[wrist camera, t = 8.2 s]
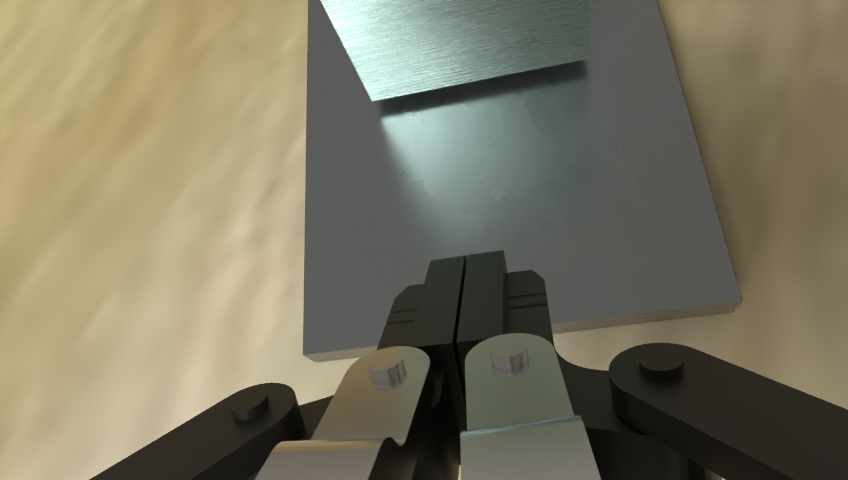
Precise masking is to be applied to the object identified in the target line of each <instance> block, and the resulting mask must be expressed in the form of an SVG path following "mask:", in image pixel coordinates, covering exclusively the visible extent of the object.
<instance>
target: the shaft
mask: <svg viewBox="0 0 848 480" xmlns="http://www.w3.org/2000/svg"><path fill="white" fill-rule="evenodd" d="M321 2H322V4H323V6H324V8H325V10H326V12H327V14H328V16H329V18H330V20H331V22H332V24H333V26H334V28H335V30H336V32H337V34H338V36H339V37H340V39H341V41H342V43H343V45H344V47H345V49H346V51H347V53H348V55H349V57H350V59H351V61H352V63H353V65H354V67H355V69H356V71H357V73H358V75H359V77H360V79H361V81H362V83H363V85H364V87H365V89H366V91H367V93H368V94H369V96H370V98H371V100H372V101H377V100H382V99H387V98H392V97H397V96H402V95H407V94H412V93H417V92H422V91H427V90H433V89H438V88H443V87H448V86H453V85H458V84H463V83H468V82H473V81H478V80H484V79H489V78H494V77H499V76H504V75H509V74H514V73H519V72H524V71H529V70H534V69H540V68H545V67H550V66H555V65H560V64H565V63H570V62H575V61H580V60H585V59H589V42H590V0H321Z"/></svg>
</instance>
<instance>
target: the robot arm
mask: <svg viewBox="0 0 848 480" xmlns="http://www.w3.org/2000/svg"><path fill="white" fill-rule="evenodd" d="M459 465H461V480H722V478H724V479H726V480H848V410H847V409H844V408H842V407H839V406H837V405H834V404H832V403H829V402H827V401H824V400H822V399H819V398H817V397H814V396H812V395H809V394H807V393H804V392H802V391H799V390H797V389H794V388H791V387H789V386H786V385H784V384H781V383H779V382H776V381H774V380H771V379H769V378H766V377H764V376H761V375H759V374H756V373H754V372H751V371H749V370H746V369H744V368H741V367H739V366H736V365H734V364H731V363H729V362H726V361H724V360H721V359H719V358H716V357H714V356H711V355H709V354H706V353H704V352H701V351H699V350H696V349H693V348H690V347H687V346H683V345H679V344H671V343H650V344H643V345H639V346H635V347H632V348H629V349H627V350H625V351H623V352H621V353H620V354H618V355H617V356H616V357H615V358H614V359H613V360H612V362H611V363H610V366H609V371H603V370H594V369H587V368H583V367H579V366H577V365H574V364H571V363H569V362H567V361H566V360H564V359H563V358H562V357H561V356H560V355H559V354H558V353H557V352H556V350H555V347H554V342H553V335H552V328H551V321H550V314H549V308H548V301H547V294H546V287H545V280H544V279H543V278H542V277H541V276H540V275H538V274H537V273H536V272H535V271H533V270H525V271H517V272H509V273H508V272H507V265H506V260H505V255H504V251H503V250H499V251H491V252H484V253H477V254H469V255H468V257H466V255H463V256H456V257H448V258H441V259H434V260H430V263H429V267H428V271H427V275H426V278H425V282H424V284H418V285H410V286H408V287H407V288H405V289H404V290H403V291H402V292H401V293H400V294H399V295H398V296H397V297H396V298H395V299H394V302H393V304H392V307H391V310H390V314H389V316H388V319H387V322H386V325H385V327H384V330H383V333H382V336H381V339H380V342H379V344H378V347H377V350H376V351H374V352H372V353H369V354H367V355H365V356H363V357H362V358H360V359H358V360H357V361H356V362H355V363H353V364H352V365H351V366H350V367H349V369H348V370H347V372H346V374H345V376H344V377H343V379H342V381H341V383H340V385H339V387H338V389H337V391H336V393H335V394H334V395H332V396H330V397H327V398H323V399H320V400H317V401H313V402H310V403H307V404H303V405H300V406H299V405H298V402H297V399H296V395H295V392H294V391H293V389H292V388H291V387H289V386H287V385H285V384H280V383H265V384H259V385H255V386H251V387H248V388H245V389H243V390H241V391H238V392H236V393H234V394H232V395H231V396H229V397H227V398H225V399H224V400H222V401H220V402H219V403H217V404H215V405H214V406H212V407H210V408H209V409H207V410H205V411H204V412H202V413H200V414H199V415H197V416H195V417H194V418H192V419H190V420H189V421H187V422H185V423H184V424H182V425H180V426H179V427H177V428H175V429H174V430H172V431H170V432H168V433H167V434H165V435H163V436H162V437H160V438H158V439H157V440H155V441H153V442H152V443H150V444H148V445H147V446H145V447H143V448H142V449H140V450H138V451H137V452H135V453H133V454H132V455H130V456H128V457H127V458H125V459H123V460H122V461H120V462H118V463H117V464H115V465H113V466H112V467H110V468H108V469H107V470H105V471H103V472H102V473H100V474H98V475H96V476H95V477H93V478H91V479H90V480H458V475H459ZM721 477H722V478H721Z"/></svg>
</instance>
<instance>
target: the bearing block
mask: <svg viewBox="0 0 848 480" xmlns="http://www.w3.org/2000/svg"><path fill="white" fill-rule="evenodd" d="M499 250H503V251H504V255H505V260H506V265H507V272H508V273H509V272H517V271H525V270H533V271H535V272H536V273H537V274H538V275H540V276H541V277H542V278H543V279H544V280H545V287H546V294H547V301H548V308H549V314H550V321H551V328H552V334H554V333H563V332H571V331H579V330H588V329H596V328H604V327H612V326H621V325H629V324H637V323H645V322H654V321H662V320H670V319H678V318H687V317H695V316H703V315H711V314H720V313H728V312H734V311H735V310H736V308H737V307H738V306H739V304H740V303H741V302H742V298H741V294H740V291H739V287H738V284H737V280H736V277H735V273H734V270H733V266H732V263H731V259H730V256H729V252H728V249H727V245H726V242H725V238H724V235H723V231H722V228H721V224H720V221H719V217H718V214H717V210H716V207H715V203H714V200H713V196H712V193H711V189H710V186H709V182H708V179H707V175H706V172H705V168H704V165H703V161H702V158H701V154H700V151H699V147H698V144H697V140H696V137H695V133H694V130H693V126H692V123H691V119H690V116H689V112H688V109H687V105H686V102H685V98H684V95H683V91H682V88H681V84H680V81H679V77H678V74H677V70H676V67H675V63H674V60H673V56H672V53H671V49H670V46H669V42H668V39H667V35H666V32H665V28H664V25H663V21H662V18H661V14H660V11H659V7H658V4H657V0H590V42H589V59H585V60H580V61H575V62H570V63H565V64H560V65H555V66H550V67H545V68H540V69H534V70H529V71H524V72H519V73H514V74H509V75H504V76H499V77H494V78H489V79H484V80H478V81H473V82H468V83H463V84H458V85H453V86H448V87H443V88H438V89H433V90H427V91H422V92H417V93H412V94H407V95H402V96H397V97H392V98H387V99H382V100H377V101H372V100H371V98H370V96H369V94H368V93H367V91H366V89H365V87H364V85H363V83H362V81H361V79H360V77H359V75H358V73H357V71H356V69H355V67H354V65H353V63H352V61H351V59H350V57H349V55H348V53H347V51H346V49H345V47H344V45H343V43H342V41H341V39H340V37H339V36H338V34H337V32H336V30H335V28H334V26H333V24H332V22H331V20H330V18H329V16H328V14H327V12H326V10H325V8H324V6H323V4H322V2H321V0H308V55H307V123H306V190H305V257H304V325H303V355H304V356H306V357H307V358H309V359H311V360H313V361H314V362H323V361H331V360H340V359H348V358H356V357H363V356H365V355H367V354H369V353H372V352H374V351H376V350H377V347H378V344H379V342H380V339H381V336H382V333H383V330H384V327H385V325H386V322H387V319H388V316H389V314H390V310H391V307H392V304H393V302H394V299H395V298H396V297H397V296H398V295H399V294H400V293H401V292H402V291H403V290H404V289H405V288H407V287H408V286H410V285H418V284H424V282H425V278H426V275H427V271H428V267H429V263H430V260H434V259H441V258H448V257H456V256H463V255H466V257H468V255H469V254H477V253H484V252H491V251H499Z"/></svg>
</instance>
